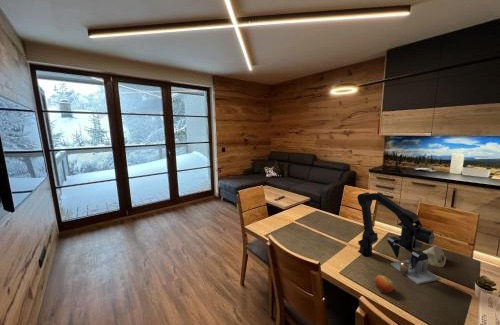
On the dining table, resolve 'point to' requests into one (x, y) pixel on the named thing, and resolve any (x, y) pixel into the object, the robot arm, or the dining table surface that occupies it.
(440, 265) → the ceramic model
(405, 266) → the metal knob rod
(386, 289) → the fruit
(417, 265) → the barrel bolt latch
